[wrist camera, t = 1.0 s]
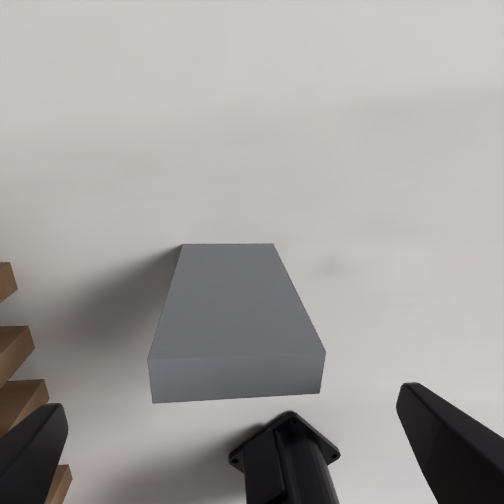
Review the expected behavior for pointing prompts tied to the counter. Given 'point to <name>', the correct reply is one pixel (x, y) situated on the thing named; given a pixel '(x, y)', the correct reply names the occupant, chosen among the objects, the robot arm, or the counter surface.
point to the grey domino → (233, 329)
